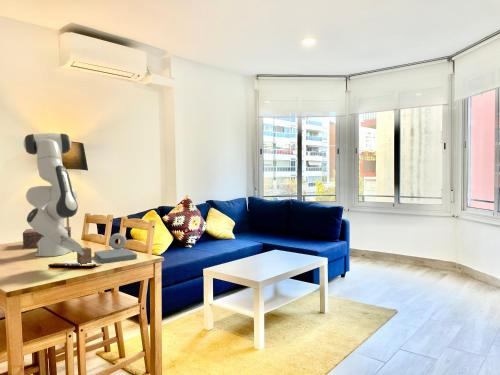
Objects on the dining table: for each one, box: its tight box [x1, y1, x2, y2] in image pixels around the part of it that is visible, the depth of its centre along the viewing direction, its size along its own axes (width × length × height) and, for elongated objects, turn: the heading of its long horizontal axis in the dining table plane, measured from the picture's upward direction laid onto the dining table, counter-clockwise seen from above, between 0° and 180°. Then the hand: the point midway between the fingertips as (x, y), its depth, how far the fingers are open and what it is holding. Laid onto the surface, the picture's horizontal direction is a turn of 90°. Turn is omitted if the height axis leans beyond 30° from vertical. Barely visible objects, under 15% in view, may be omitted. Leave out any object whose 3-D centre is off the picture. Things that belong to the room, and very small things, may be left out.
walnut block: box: [76, 246, 93, 265], centre depth 194 cm, size 5×5×9 cm
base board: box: [93, 247, 138, 264], centre depth 213 cm, size 18×18×2 cm
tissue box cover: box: [22, 226, 72, 250], centre depth 245 cm, size 26×14×10 cm, turn 112°
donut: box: [108, 232, 127, 250], centre depth 233 cm, size 10×3×10 cm, turn 108°
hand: (78, 252), depth 192 cm, fingers open, 8 cm apart
